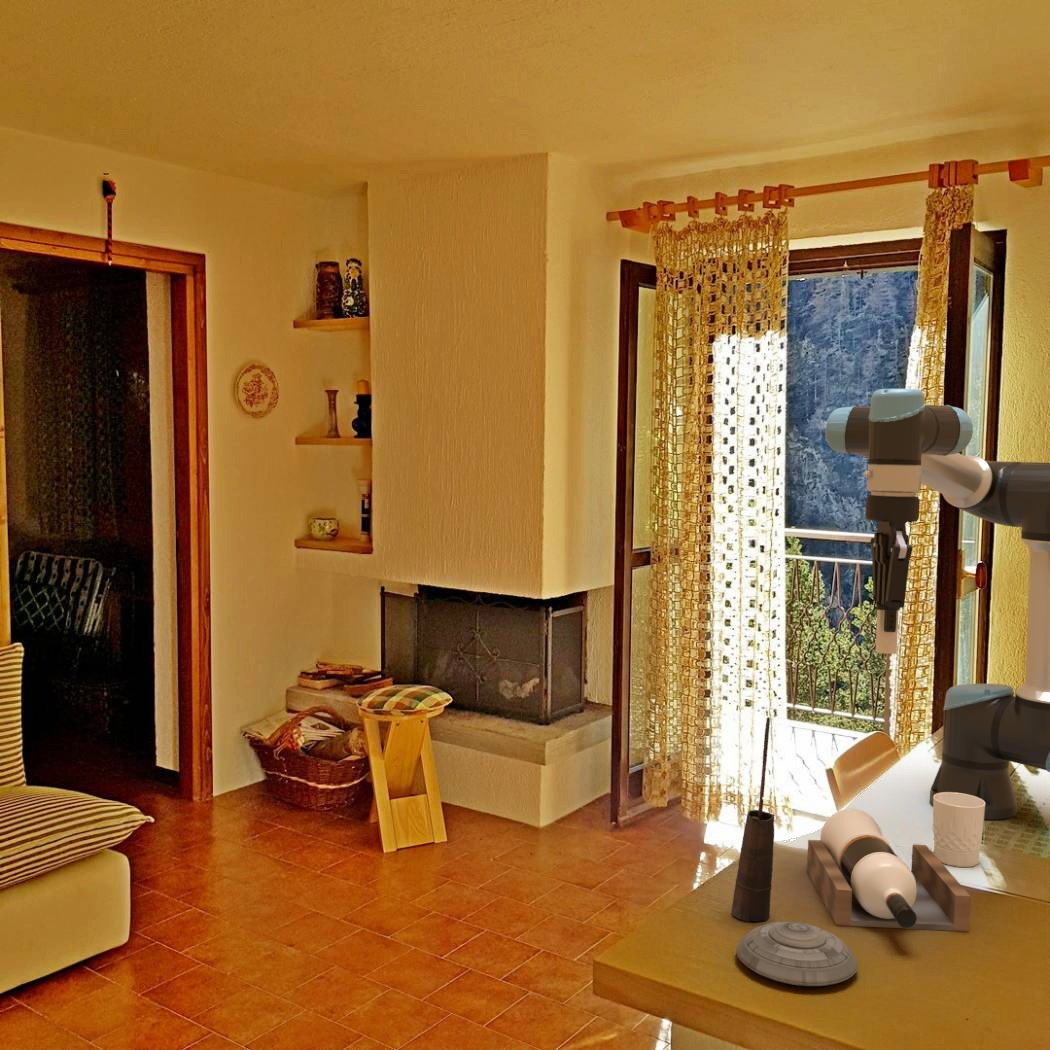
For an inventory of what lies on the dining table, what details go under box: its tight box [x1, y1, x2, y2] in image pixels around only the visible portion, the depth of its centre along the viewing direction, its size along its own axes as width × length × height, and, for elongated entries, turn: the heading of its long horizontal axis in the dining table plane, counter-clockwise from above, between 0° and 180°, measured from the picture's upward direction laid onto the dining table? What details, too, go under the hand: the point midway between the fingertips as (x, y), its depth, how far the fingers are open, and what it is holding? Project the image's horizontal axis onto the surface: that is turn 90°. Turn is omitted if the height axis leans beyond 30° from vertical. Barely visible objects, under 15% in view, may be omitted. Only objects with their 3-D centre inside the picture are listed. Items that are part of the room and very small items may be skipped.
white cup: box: [932, 792, 986, 868], centre depth 180 cm, size 8×8×10 cm
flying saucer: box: [735, 920, 859, 987], centre depth 141 cm, size 15×15×6 cm
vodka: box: [820, 808, 917, 929], centre depth 160 cm, size 9×9×30 cm
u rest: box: [806, 839, 971, 933], centre depth 163 cm, size 20×18×5 cm
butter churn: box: [731, 716, 775, 923], centre depth 155 cm, size 9×10×28 cm
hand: (886, 652), depth 166 cm, fingers closed
